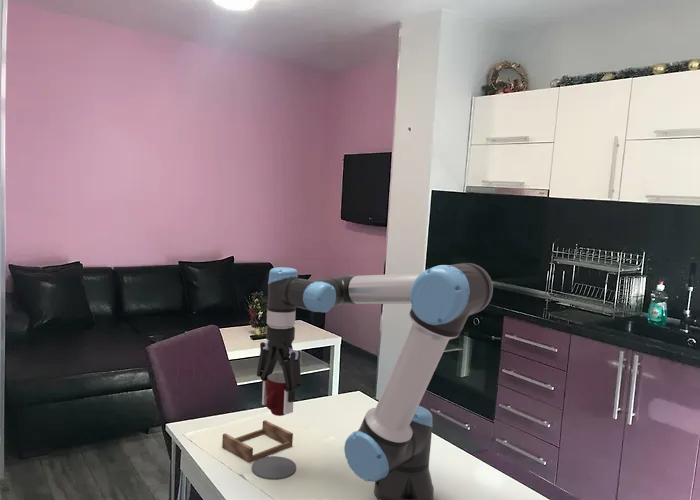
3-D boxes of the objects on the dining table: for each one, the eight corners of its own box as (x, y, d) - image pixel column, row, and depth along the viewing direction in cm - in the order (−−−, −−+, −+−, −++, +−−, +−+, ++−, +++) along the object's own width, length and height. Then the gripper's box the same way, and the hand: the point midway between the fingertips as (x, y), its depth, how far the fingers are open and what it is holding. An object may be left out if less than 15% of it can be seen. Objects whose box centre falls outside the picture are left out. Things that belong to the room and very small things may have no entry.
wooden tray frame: (292, 446, 170) (292, 433, 170) (249, 463, 158) (250, 449, 158) (264, 432, 178) (265, 420, 178) (222, 447, 166) (222, 434, 166)
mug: (284, 425, 149) (287, 388, 147) (255, 419, 151) (258, 382, 149) (297, 410, 159) (301, 375, 157) (270, 404, 161) (273, 370, 159)
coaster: (305, 469, 156) (305, 467, 156) (271, 484, 147) (271, 482, 147) (275, 454, 164) (276, 452, 164) (242, 467, 155) (242, 465, 155)
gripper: (318, 331, 148) (314, 416, 150) (266, 316, 162) (263, 394, 164) (297, 335, 143) (293, 423, 145) (245, 320, 157) (242, 400, 159)
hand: (277, 408), depth 155 cm, fingers closed on mug, 8 cm apart
